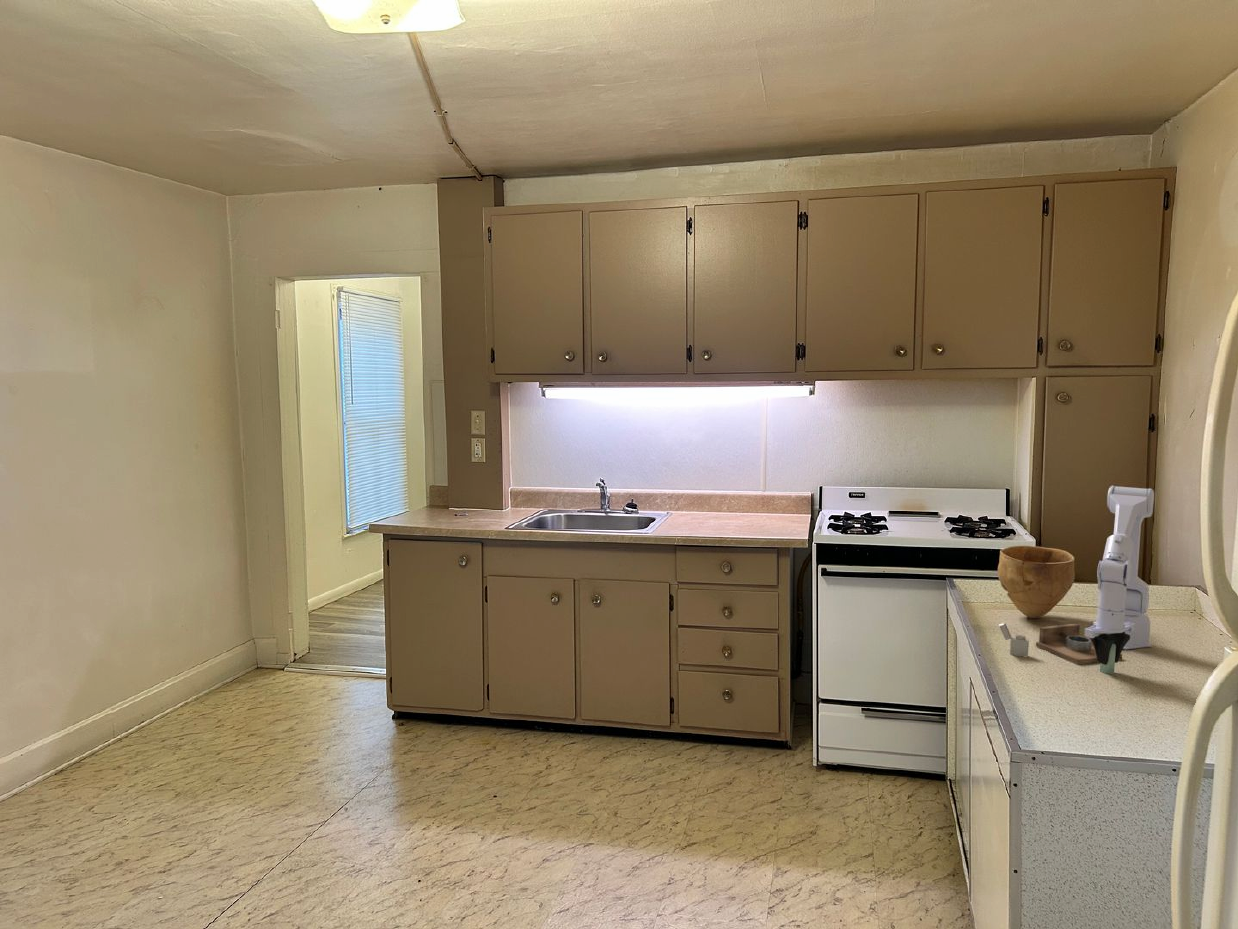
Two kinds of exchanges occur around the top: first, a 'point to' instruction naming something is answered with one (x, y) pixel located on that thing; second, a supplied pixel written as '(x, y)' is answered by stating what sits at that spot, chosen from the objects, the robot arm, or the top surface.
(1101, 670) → the peg
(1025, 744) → the top surface
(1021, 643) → the lighter
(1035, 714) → the top surface
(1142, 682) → the top surface
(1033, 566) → the bowl
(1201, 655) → the top surface
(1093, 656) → the cup bracket
